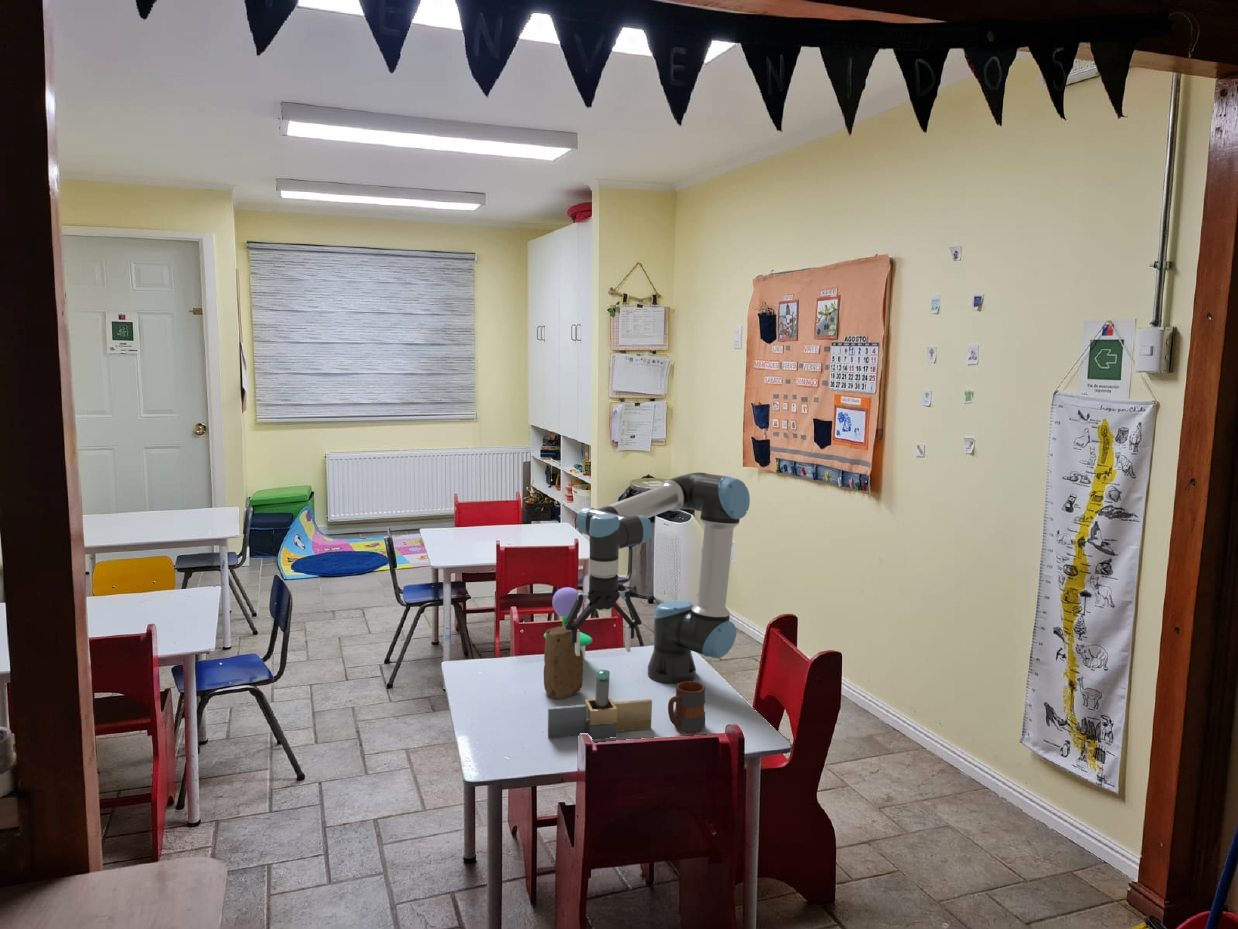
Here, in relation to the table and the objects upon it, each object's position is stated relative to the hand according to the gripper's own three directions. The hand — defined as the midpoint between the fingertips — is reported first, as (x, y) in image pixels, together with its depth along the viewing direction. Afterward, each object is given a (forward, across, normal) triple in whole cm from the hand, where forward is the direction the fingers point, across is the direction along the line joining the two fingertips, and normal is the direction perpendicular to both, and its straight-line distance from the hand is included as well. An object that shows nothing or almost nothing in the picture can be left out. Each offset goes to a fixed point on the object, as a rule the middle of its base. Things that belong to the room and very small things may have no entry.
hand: (602, 652), depth 226 cm
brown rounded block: (+23, +6, -27) cm, 36 cm away
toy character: (+23, 0, -51) cm, 56 cm away
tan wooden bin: (+22, -5, 0) cm, 23 cm away
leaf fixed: (+22, +6, 0) cm, 23 cm away
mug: (+23, -22, +2) cm, 32 cm away
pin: (+22, 0, 0) cm, 22 cm away
